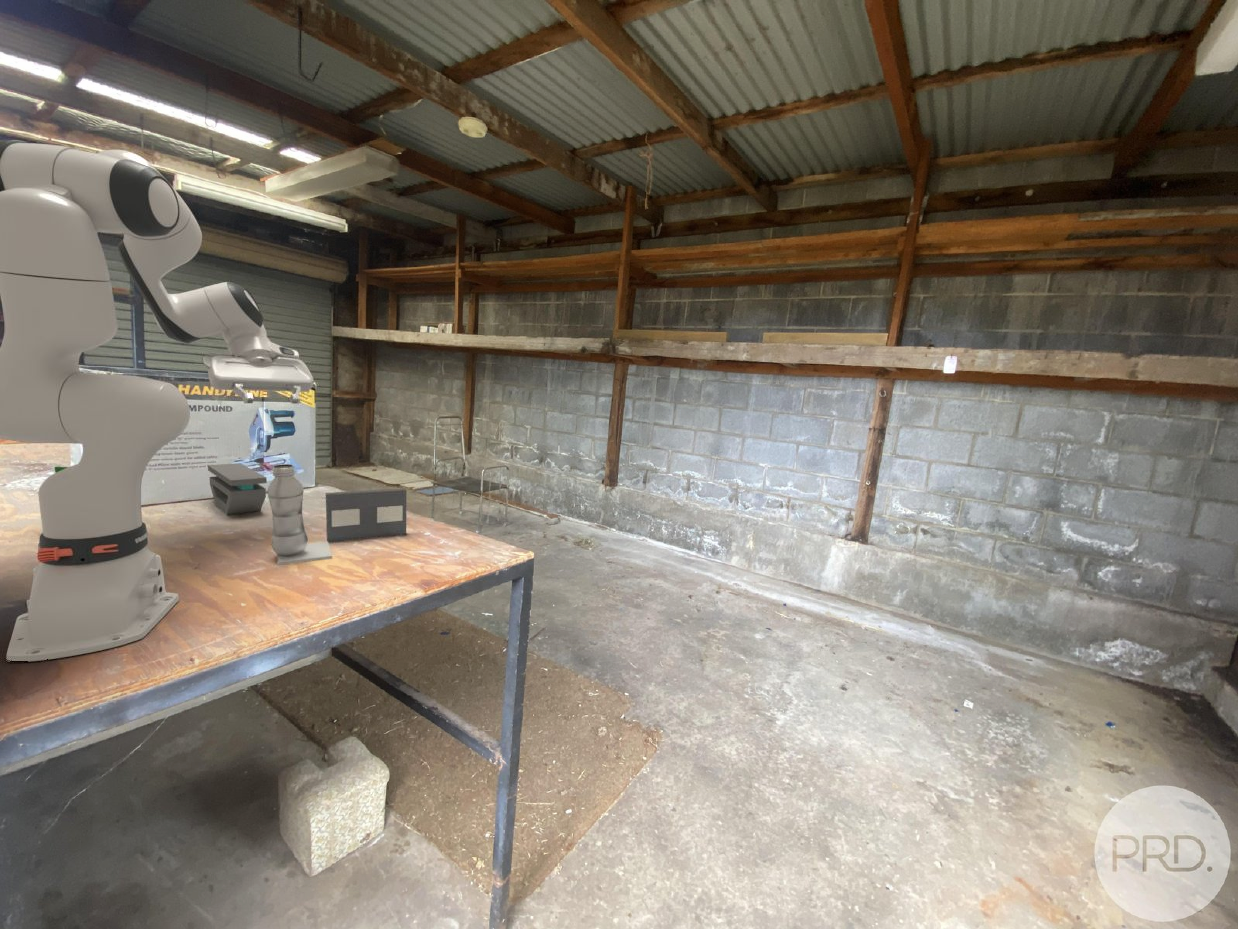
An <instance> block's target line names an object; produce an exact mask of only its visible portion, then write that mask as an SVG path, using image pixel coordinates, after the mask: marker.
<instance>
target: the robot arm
mask: <svg viewBox="0 0 1238 929" xmlns="http://www.w3.org/2000/svg"><path fill="white" fill-rule="evenodd" d="M98 233H104V234H118V235H119V234H120V235H123V239H122V240H121V241H120V242H119V243H118V244H117V249H118V254H119V256H120V259H121V261H122V263H123V265H124V268H125V269H126V271H127V272H128V274H129V276H130V278H131V280H132V281H133V283H134V284H135V286H136V288H137V289H138V291H139V292H140V295H141V296H142V298H143V300H145V302H146V304H147V306H148V307H149V309H150V310H151V312H152V316H153V318H154V321H155V322H156V323H155V324H156V325H157V326H158V327H159V329H160V330H161V332H163V334H164V335H165V336H166V337H167V338H169V339H172V340H174V341H177V342H180V343H183V344H191V343H195V342H196V341H199V340H202V339H203V338H206V337H209V336H213V335H216V334H220V333H221V335H222V338H223V340H224V341H225V342H226V344H227V352H228V353H229V354H224V353H222V354H221V353H208V354H206V355H203V356H202V358H201V361H202V364H203V366H204V367H205V368H206V369H207V374H208V380H209V381H208V382H209V384H210V386H211V388H214V389H215V390H219V391H220V390H221V391H224V390H225V391H226V390H227V391H233V394H235V395H237V396H238V397H239V398H240V399H242V401H243V403H244V404H253V403H254V400H255V399H254V396H253V393H251V392H247V391H258V392H259V391H260V392H261V391H262V392H291V394H290V397H289V401H290V403H291V404H293V405H299V404H300V402H301V397H300V396H299V394H300V393H301V392H303V393H308V392H310V390H311V389H312V388H313V386H314V382H315V379H314V377H313V375H312V373H311V371H310V370H309V368H308V366H307V364H306V363H305V362H304V361H303V360H301V359H300V353H299V352H298V350H295V349H292V348H288V347H285V346H282V345H279V344H278V343H274V342H272V341H271V339H269V338H268V334H267V329H266V328H265V326H264V316H263V314H262V312H261V310H260V308H259V305H258V303H257V302H256V299H255V298H254V296H253V295H252V293H251V292H250V291H249V290H248V289H246V288H245V287H243V286H241V285H239V284H237V283H234V282H231V281H225V282H219V283H215V284H211V285H208V286H204V287H201V288H197V289H193V290H189V291H184V292H181V293H168V291H167V290H166V287H165V286H164V284H163V282H162V280H161V279H162V278H163V277H165V276H166V275H167V274H168V273H170V272H171V271H173V270H175V269H177V268H179V267H181V266H182V265H184V264H187V263H188V262H189V261H191V260H193V258H194V257H195V256H196V255H197V254H198V252H199V250H200V248H201V246H202V240H203V233H202V230H201V228H200V225H199V223H198V221H197V219H196V217H195V215H194V214H193V212H192V211H191V209H190V207H189V206H188V205H187V203H186V202H185V200H184V199H183V198H182V197H181V195H180V194H179V192H178V191H177V190H176V189H175V188H174V186H172V185H171V183H170V181H168V180H167V179H166V177H164V176H163V174H161V172H160V171H159V170H158V169H156V168H155V167H154V166H153V164H151V163H150V162H149V161H148V160H147V159H145V158H144V157H142V156H140V155H138V154H136V153H135V152H131V151H128V150H124V149H123V150H122V149H107V150H102V151H100V152H97V153H96V152H91V151H85V150H81V149H79V148H77V147H71V146H65V145H64V146H63V145H57V144H47V143H31V142H30V143H29V142H27V141H24V140H20V139H0V300H1V307H2V313H3V322H4V331H3V332H4V333H3V339H2V341H1V345H0V440H5V441H10V442H18V443H25V444H27V443H29V444H31V443H32V444H77V445H78V444H80V445H82V454H81V458H80V460H79V462H78V463H77V464H73V465H71V466H67V467H68V468H66V469H63V470H61V471H59V472H56V473H55V472H54V473H53V474H51V475H49V476H48V477H47V478H46V479H45V480H44V481H43V482H42V483H41V485H40V487H39V489H38V492H37V495H38V496H37V497H38V503H39V512H40V520H41V528H42V533H41V534H40V535H39V543H38V545H37V553H36V555H37V561H38V563H39V564H38V565H36V566H35V567H34V568H32V573H33V577H32V578H33V579H32V583H31V590H30V594H29V595H30V596H29V599H27V600H26V601H25V607H26V608H27V612H26V613H22V614H21V615H19V616H17V617H16V619H15V624H14V627H13V631H12V634H11V638H10V641H9V644H8V648H7V652H6V659H7V660H10V661H11V660H12V661H28V662H37V661H45V660H46V661H47V659H48V660H54V659H61V658H66V657H67V658H68V657H72V656H79V655H83V654H89V653H94V652H98V651H103V650H107V649H114V648H116V647H121V646H123V645H127V644H129V643H133V642H136V641H138V640H139V641H140V640H141V639H143V638H145V637H146V635H147V634H148V633H150V632H151V630H153V629H154V627H155V626H156V625H158V623H159V622H161V620H162V619H163V618H164V617H165V616H166V614H167V613H168V612H170V611H171V609H172V608H173V607H174V606H175V605H176V604H177V603H178V602H179V601H180V596H179V594H178V593H177V592H176V593H175V592H168V591H166V585H165V578H164V570H163V564H162V556H161V555H160V554H158V553H155V552H153V551H152V550H151V549H150V548H148V546H147V545H148V544H149V540H148V539H149V538H148V537H149V532H148V529H147V526H146V525H147V524H146V523H145V522H143V516H142V513H143V512H142V482H143V477H144V473H145V471H146V469H147V466H148V465H149V463H150V461H151V460H152V458H153V457H154V456H155V455H156V454H157V453H158V452H159V451H160V450H161V449H162V448H163V447H165V446H166V445H168V443H171V442H172V441H174V440H176V439H177V438H178V437H179V436H181V435H182V433H184V431H185V430H186V428H187V426H188V424H189V423H190V418H191V410H190V406H189V405H190V404H189V402H188V400H187V398H186V397H185V395H184V393H183V392H182V391H180V389H179V388H178V387H177V386H175V385H174V384H173V383H170V382H167V381H162V380H158V379H154V378H147V377H143V376H139V375H138V376H137V375H129V374H128V375H127V374H126V375H125V374H112V373H111V374H110V373H108V374H107V373H96V372H95V373H92V372H91V373H90V372H81V369H80V366H79V362H80V357H81V355H82V353H83V352H87V351H90V350H93V349H96V348H98V347H100V346H103V345H105V344H107V343H108V342H110V341H111V340H113V338H114V337H115V336H116V334H117V332H118V329H119V323H118V318H117V311H116V305H115V300H114V299H115V298H114V293H113V288H112V283H111V278H110V272H109V268H108V263H107V260H106V256H105V253H104V250H103V246H102V244H101V241H100V237H99V236H98ZM7 660H6V661H7ZM10 661H9V662H10Z"/></svg>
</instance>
